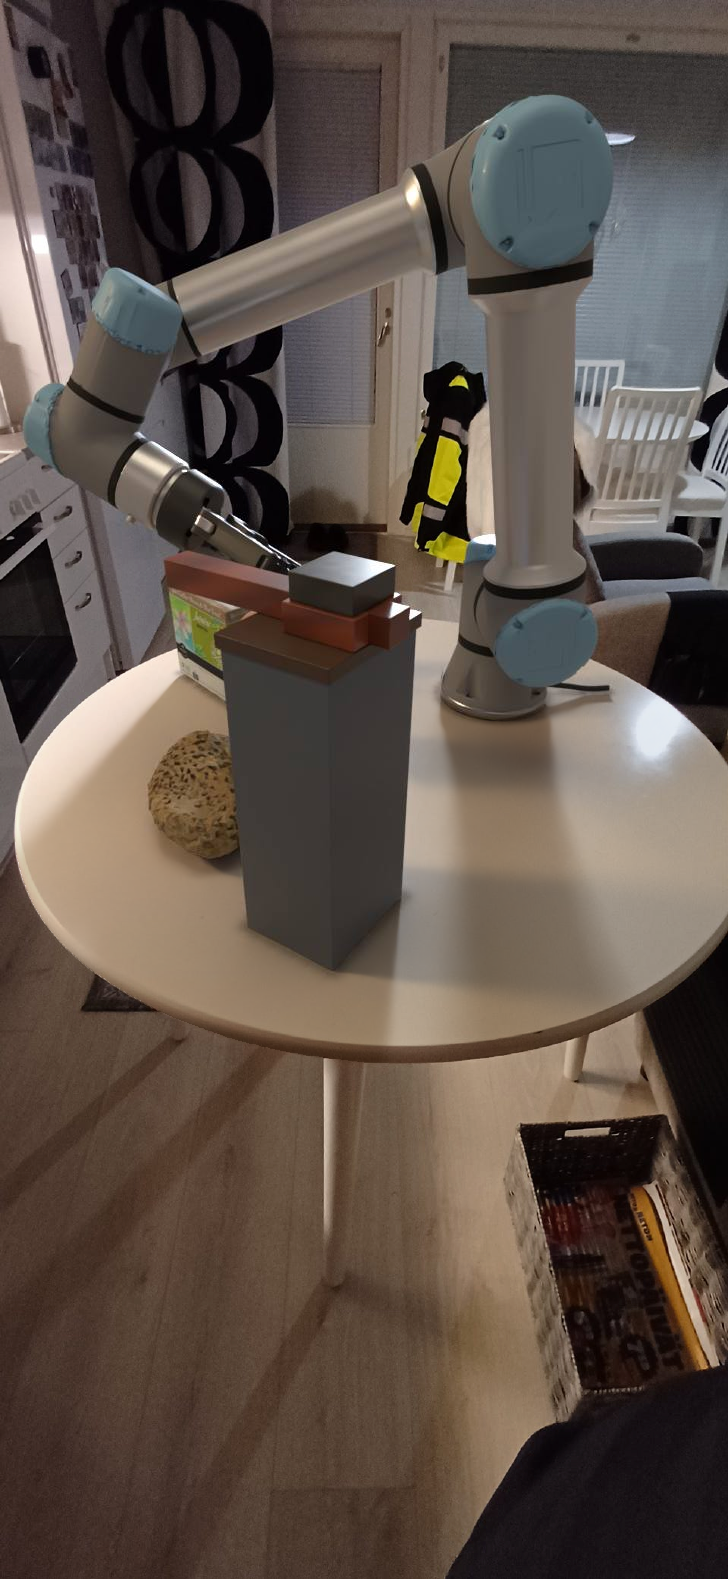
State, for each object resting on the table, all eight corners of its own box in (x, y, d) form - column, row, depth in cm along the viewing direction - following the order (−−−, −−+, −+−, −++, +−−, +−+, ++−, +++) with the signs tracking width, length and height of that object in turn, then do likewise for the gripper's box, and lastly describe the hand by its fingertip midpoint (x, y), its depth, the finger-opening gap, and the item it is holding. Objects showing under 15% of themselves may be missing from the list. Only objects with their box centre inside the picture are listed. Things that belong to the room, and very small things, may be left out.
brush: (150, 593, 64) (142, 536, 61) (204, 572, 68) (199, 518, 66) (375, 659, 54) (377, 595, 51) (421, 629, 58) (425, 569, 56)
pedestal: (242, 927, 74) (212, 633, 57) (320, 857, 83) (314, 584, 66) (333, 974, 70) (329, 669, 53) (405, 895, 78) (422, 612, 61)
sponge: (173, 775, 98) (108, 846, 80) (181, 718, 95) (115, 777, 76) (274, 801, 98) (232, 877, 79) (285, 744, 95) (244, 810, 76)
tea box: (177, 674, 119) (164, 579, 110) (232, 655, 124) (224, 564, 116) (233, 709, 110) (224, 609, 101) (290, 688, 115) (285, 592, 107)
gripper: (192, 545, 91) (345, 642, 92) (106, 518, 67) (315, 651, 68) (223, 487, 90) (378, 587, 91) (147, 438, 65) (361, 575, 66)
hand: (352, 615), depth 79 cm, fingers open, 13 cm apart
